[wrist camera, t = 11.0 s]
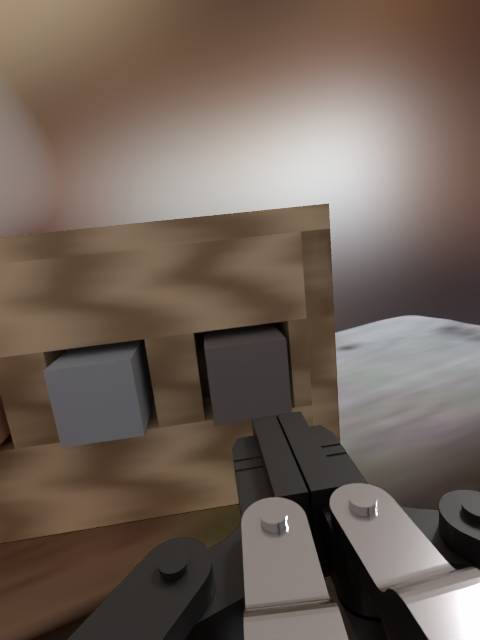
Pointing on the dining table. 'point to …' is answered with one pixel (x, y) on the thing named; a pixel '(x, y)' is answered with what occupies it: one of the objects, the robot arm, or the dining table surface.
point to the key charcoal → (247, 373)
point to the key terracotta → (3, 423)
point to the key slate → (100, 393)
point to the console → (154, 356)
